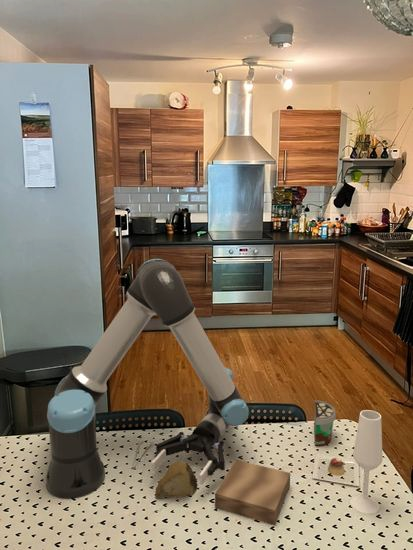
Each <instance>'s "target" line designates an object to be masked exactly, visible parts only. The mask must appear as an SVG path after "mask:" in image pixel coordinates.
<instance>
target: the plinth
mask: <svg viewBox="0 0 413 550" xmlns="http://www.w3.org/2000/svg"><path fill="white" fill-rule="evenodd" d="M290 488H291V472H288V471H285V470H284V471H283V470H281V469H276V468H271V467H267V466H263V465H259V464H255V463H251V462H247V461H242V460H239V459H235V460H234V462H233V464H232V466H231V467H230V469H229V470H228V472H227V473H226V475H225V477H224V478H223V480H222V481H221V483H220V484H219V486H218V488H216V489H217V490H216V491H215V493H214V508H215V509H218V510H222V511H225V512H227V513H231V514H235V515H239V516H242V517H244V518H249V519H252V520H255V521H259V522H262V523H266V524H268V525H273V526H276V524H277V521H278V518H279V515H280V512H281V511H282V508H283V505H284V503H285V500H286V498H287V495H288V492H289V490H290Z"/></svg>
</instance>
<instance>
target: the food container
mask: <svg viewBox="0 0 413 550" xmlns="http://www.w3.org/2000/svg"><path fill="white" fill-rule="evenodd" d="M336 419H337V413H336V410H335V408H334V407H333V405H331V404H330V403H328V402H326V401H322V400H317V399H315V400H314V419H313V420H314V421H313V435H314V436H313V437H314V438H313V439H314V447H324V446H327V445H329V444H330V443H331V441H332V435H333V434H332V433H333V425H334V421H335V420H336Z"/></svg>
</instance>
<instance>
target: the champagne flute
mask: <svg viewBox="0 0 413 550" xmlns="http://www.w3.org/2000/svg"><path fill="white" fill-rule="evenodd" d="M382 428H383V427H382V415H381V414H380V413H379V412H377V411H375V410H371V409H370V410H369V409H365V410H364V409H363V410H361V411H360V413H359V417H358V423H357V430H356V435H355V440H354V446H353V454H352V455H353V459H355V461H356V462H357V464H358V465H359V468H362V470H364V471H363V485H362V495H361V494H359V495H354V496H352V498H350V501H349V502H350V505H351V507H352V508H353V509H354V510H356V511H357V512H358V513H362V514H366V515H371V514H372V515H373V514H376V513H377V512H378V511H379V509H380V506H379V503H378V502H377V501H376V500H375V499H373V498H372V497H370V496H368V495H369V494H368V493H369V482H370V481H369V480H370V472H371V471H373V470H375V469H377V468H378V467H379V466H380V465H382V463H383V460H384V459H383V433H382V430H383V429H382Z"/></svg>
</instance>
